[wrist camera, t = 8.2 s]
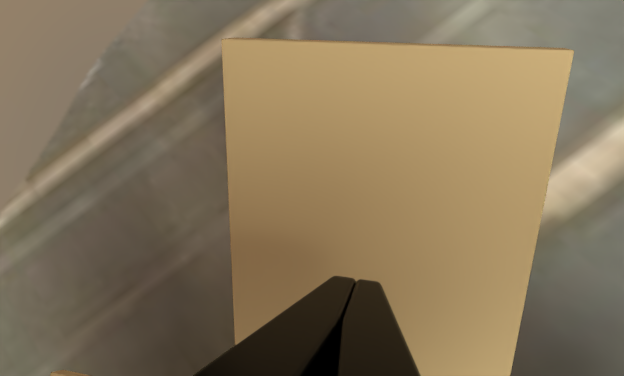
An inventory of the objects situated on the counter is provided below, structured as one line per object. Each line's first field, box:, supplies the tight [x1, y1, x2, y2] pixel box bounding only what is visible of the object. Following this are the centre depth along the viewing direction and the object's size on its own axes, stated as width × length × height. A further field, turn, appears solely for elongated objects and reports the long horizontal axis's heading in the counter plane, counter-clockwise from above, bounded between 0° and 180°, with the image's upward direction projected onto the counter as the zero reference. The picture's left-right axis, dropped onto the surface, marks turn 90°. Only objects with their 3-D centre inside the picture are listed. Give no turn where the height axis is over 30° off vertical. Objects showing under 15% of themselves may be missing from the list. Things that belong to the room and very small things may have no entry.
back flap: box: [222, 38, 574, 376], centre depth 10 cm, size 1×6×8 cm
